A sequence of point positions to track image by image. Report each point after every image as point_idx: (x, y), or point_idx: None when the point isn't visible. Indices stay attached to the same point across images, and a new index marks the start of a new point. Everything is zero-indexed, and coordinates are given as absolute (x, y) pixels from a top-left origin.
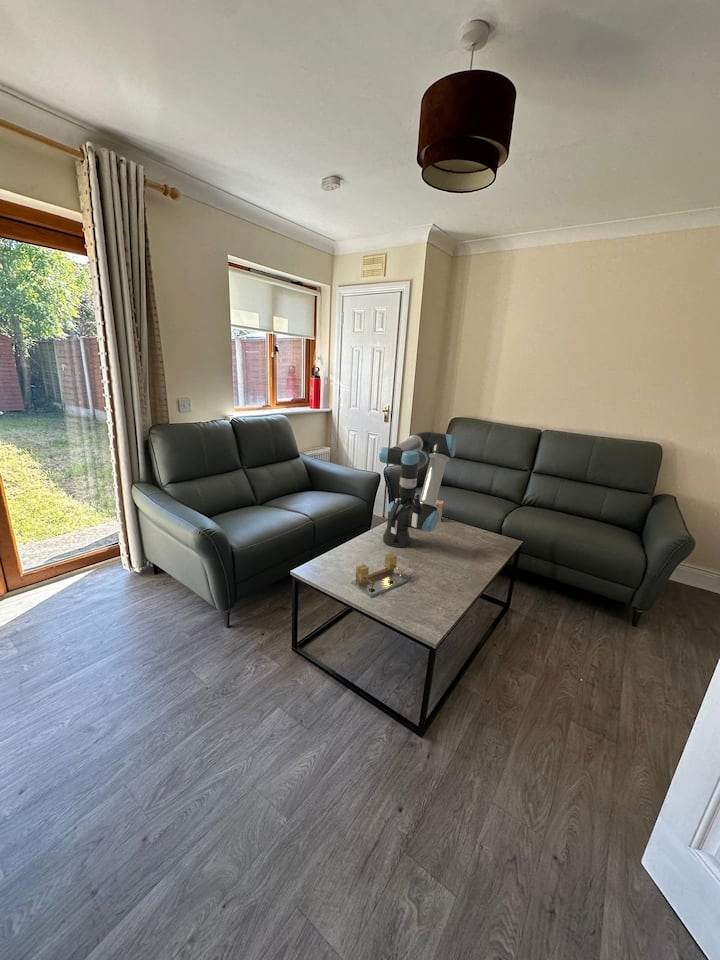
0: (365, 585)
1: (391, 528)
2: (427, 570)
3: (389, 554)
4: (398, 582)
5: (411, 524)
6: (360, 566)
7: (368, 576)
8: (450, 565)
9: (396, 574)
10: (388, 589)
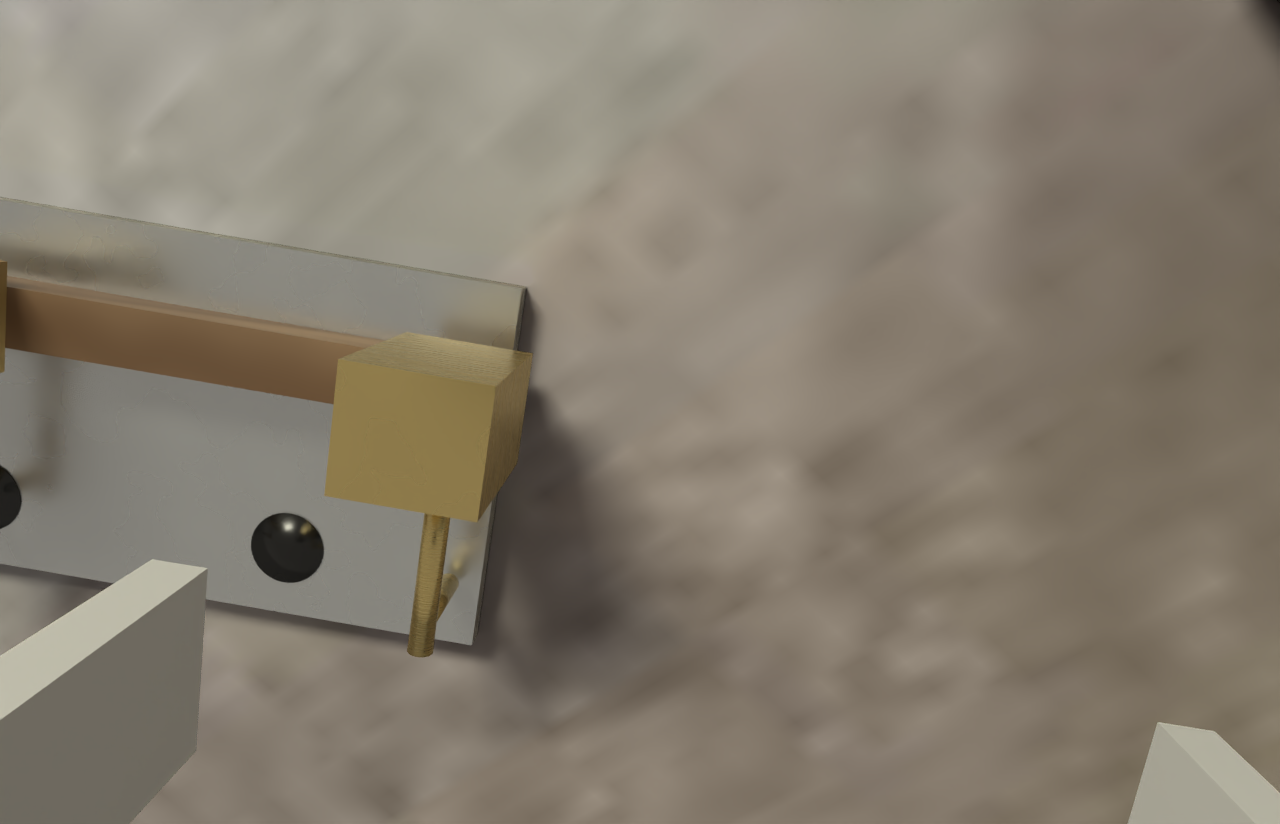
0: None
1: (54, 634)
2: (913, 673)
3: (414, 397)
4: (359, 613)
5: (1185, 749)
6: None
7: (57, 330)
8: None
9: None
10: None
